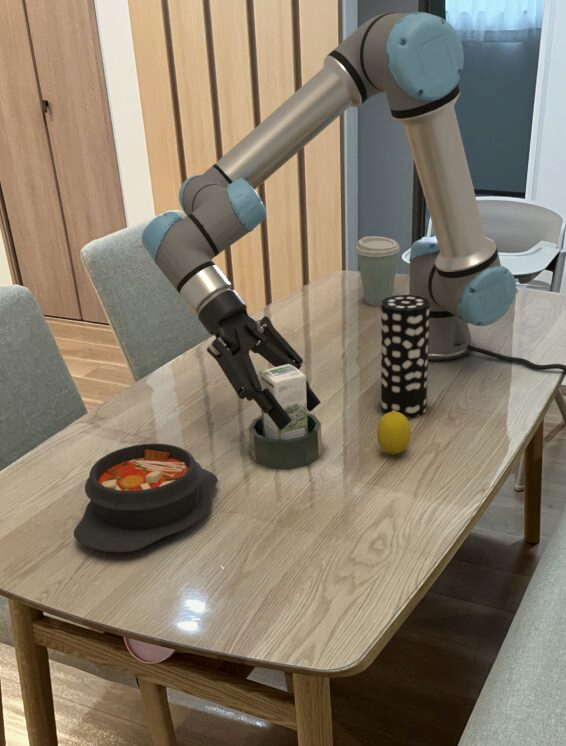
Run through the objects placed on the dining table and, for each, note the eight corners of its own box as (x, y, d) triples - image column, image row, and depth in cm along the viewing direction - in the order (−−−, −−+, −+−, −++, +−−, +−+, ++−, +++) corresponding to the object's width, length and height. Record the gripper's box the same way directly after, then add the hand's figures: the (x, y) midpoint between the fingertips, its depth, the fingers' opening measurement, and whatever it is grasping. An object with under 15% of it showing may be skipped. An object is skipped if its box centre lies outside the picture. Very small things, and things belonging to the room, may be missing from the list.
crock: (326, 438, 143) (325, 411, 141) (314, 470, 134) (312, 443, 131) (261, 434, 145) (259, 408, 142) (244, 466, 135) (241, 439, 133)
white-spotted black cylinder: (432, 403, 154) (436, 297, 143) (417, 421, 148) (420, 312, 137) (390, 396, 157) (391, 292, 147) (374, 414, 151) (373, 307, 140)
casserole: (148, 466, 136) (141, 420, 132) (246, 488, 130) (242, 440, 125) (45, 546, 117) (31, 495, 113) (153, 576, 110) (144, 523, 106)
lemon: (387, 465, 134) (388, 421, 130) (371, 452, 139) (370, 408, 134) (416, 457, 136) (417, 413, 132) (399, 444, 141) (399, 401, 136)
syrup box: (293, 440, 143) (288, 361, 135) (309, 454, 138) (306, 373, 131) (263, 449, 140) (257, 369, 133) (279, 463, 136) (274, 381, 128)
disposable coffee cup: (405, 297, 207) (406, 236, 199) (390, 311, 199) (390, 247, 191) (366, 293, 211) (365, 233, 203) (349, 306, 203) (348, 244, 195)
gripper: (243, 298, 143) (323, 405, 143) (160, 334, 129) (250, 451, 129) (265, 272, 137) (348, 382, 138) (181, 306, 123) (274, 429, 124)
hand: (300, 416), depth 134 cm, fingers closed on syrup box, 7 cm apart
